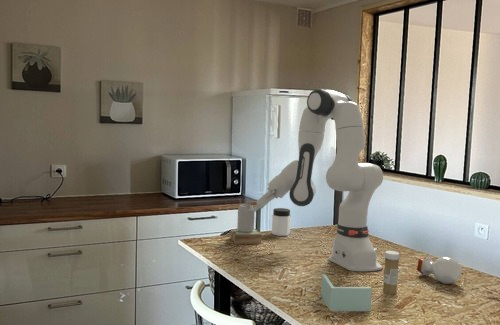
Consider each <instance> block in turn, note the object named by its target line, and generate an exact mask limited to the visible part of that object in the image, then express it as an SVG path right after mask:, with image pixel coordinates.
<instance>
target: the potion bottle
mask: <svg viewBox="0 0 500 325" xmlns="http://www.w3.org/2000/svg"><path fill="white" fill-rule="evenodd" d="M462 270H463V269H462V267H461V265H460V263H459V261H458V260H457V259H455V258H453V257H451V256H440V257H438V258H436V260H435V261H433V260H432V257H423V258H418V262H417V266H416V271H417V272H419V273H420V274H421V275H424V276H426V277H429V276H430V275H431V274H432V275H434V279H436V281H438V282H439V283H442V284H443V285H449V284H455V283H456V282H457V281H459V279H461V276H462Z"/></svg>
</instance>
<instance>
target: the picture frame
mask: <svg viewBox="0 0 500 325" xmlns="http://www.w3.org/2000/svg"><path fill="white" fill-rule="evenodd" d="M230 240H231V242H232V243H233V244H234V245H247V244H248V245H250V244H262V233H261V232H259V230H257V228H256V229H255V228H254V230H253V231H252V232H250V233H242V232H239V230H238V229H231V230H230Z"/></svg>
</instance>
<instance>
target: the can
mask: <svg viewBox="0 0 500 325" xmlns="http://www.w3.org/2000/svg"><path fill="white" fill-rule="evenodd" d="M253 208H254V205H252V204H245V203H243V204H240V205H239V207H238V208H237V229H236V230H239V232H242V233H250V232H252V231H253V230H254V229H255V212H254V211H253V210H252V209H253Z"/></svg>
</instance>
